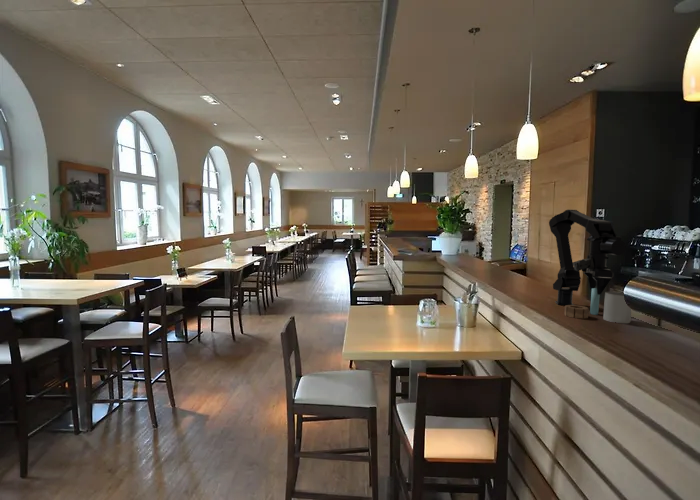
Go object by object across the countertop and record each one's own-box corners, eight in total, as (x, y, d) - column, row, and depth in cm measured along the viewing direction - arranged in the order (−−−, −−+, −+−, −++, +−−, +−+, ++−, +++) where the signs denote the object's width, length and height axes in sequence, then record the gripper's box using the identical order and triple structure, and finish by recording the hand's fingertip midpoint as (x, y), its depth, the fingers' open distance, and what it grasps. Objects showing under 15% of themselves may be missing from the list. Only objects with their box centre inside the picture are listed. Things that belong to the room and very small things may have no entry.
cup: (622, 318, 154) (624, 292, 153) (635, 323, 146) (637, 296, 145) (598, 317, 155) (600, 291, 154) (610, 322, 147) (612, 295, 146)
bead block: (562, 313, 160) (563, 304, 160) (584, 314, 158) (585, 305, 158) (567, 317, 153) (568, 308, 153) (590, 319, 151) (590, 309, 151)
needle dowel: (589, 312, 162) (590, 288, 161) (597, 313, 161) (598, 288, 160) (591, 314, 159) (592, 289, 158) (599, 315, 158) (601, 289, 158)
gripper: (569, 250, 170) (567, 287, 171) (581, 253, 152) (578, 295, 153) (599, 251, 167) (596, 289, 168) (615, 255, 149) (612, 297, 150)
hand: (595, 292), depth 160 cm, fingers open, 9 cm apart
